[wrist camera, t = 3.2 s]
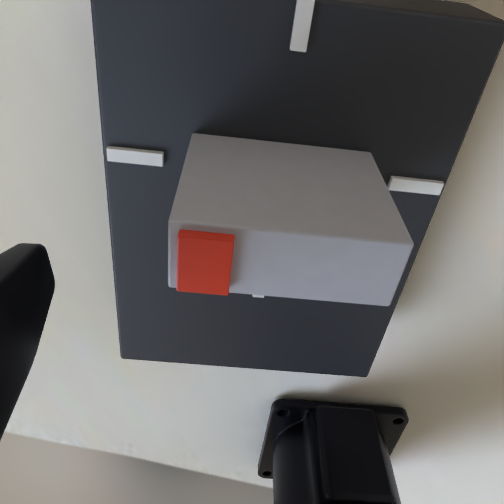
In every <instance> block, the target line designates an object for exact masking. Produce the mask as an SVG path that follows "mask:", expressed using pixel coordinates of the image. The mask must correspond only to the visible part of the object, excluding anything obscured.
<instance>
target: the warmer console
mask: <svg viewBox="0 0 504 504" xmlns="http://www.w3.org/2000/svg"><path fill="white" fill-rule="evenodd" d="M91 11H92V23H93V35H94V47H95V58H96V70H97V82H98V94H99V106H100V117H101V129H102V141H103V153H104V165H105V176H106V188H107V200H108V212H109V224H110V235H111V247H112V259H113V271H114V283H115V294H116V306H117V318H118V330H119V342H120V353H121V358H123V359H135V360H149V361H162V362H175V363H188V364H201V365H214V366H227V367H240V368H253V369H266V370H279V371H292V372H305V373H319V374H332V375H345V376H358V377H367V375H368V373H369V371H370V368H371V366H372V363H373V361H374V358H375V356H376V353H377V351H378V348H379V346H380V344H381V341H382V339H383V336H384V334H385V331H386V329H387V326H388V324H389V321H390V319H391V317H392V314H393V312H394V309H395V307H396V304H397V302H398V299H399V297H400V294H401V292H402V290H403V287H404V285H405V282H406V280H407V277H408V275H409V272H410V270H411V267H412V265H413V262H414V260H415V258H416V255H417V253H418V250H419V248H420V245H421V243H422V240H423V238H424V235H425V233H426V231H427V228H428V226H429V223H430V221H431V218H432V216H433V213H434V211H435V208H436V206H437V204H438V201H439V199H440V196H441V194H442V191H443V189H444V186H445V184H446V181H447V179H448V177H449V174H450V172H451V169H452V167H453V164H454V162H455V159H456V157H457V154H458V152H459V150H460V147H461V145H462V142H463V140H464V137H465V135H466V132H467V130H468V127H469V125H470V123H471V120H472V118H473V115H474V113H475V110H476V108H477V105H478V103H479V100H480V98H481V96H482V93H483V91H484V88H485V86H486V83H487V81H488V78H489V76H490V73H491V71H492V68H493V66H494V64H495V61H496V59H497V56H498V54H499V51H500V49H501V46H502V44H503V41H504V21H503V20H501V19H499V18H497V17H495V16H492V15H490V14H488V13H486V12H484V11H482V10H479V9H477V8H475V7H473V6H471V5H468V4H464V3H456V2H449V1H441V0H91ZM193 133H198V134H207V135H216V136H225V137H235V138H244V139H253V140H262V141H272V142H281V143H290V144H299V145H309V146H318V147H327V148H336V149H346V150H355V151H364V152H370V153H371V154H372V156H373V158H374V160H375V163H376V165H377V167H378V169H379V171H380V173H381V175H382V177H383V180H384V182H385V184H386V186H387V188H388V190H389V192H390V194H391V196H392V199H393V201H394V203H395V205H396V207H397V209H398V211H399V213H400V215H401V218H402V220H403V222H404V224H405V226H406V228H407V230H408V232H409V234H410V237H411V239H412V241H413V243H414V246H413V248H412V251H411V254H410V256H409V259H408V261H407V264H406V266H405V269H404V271H403V274H402V276H401V279H400V281H399V284H398V286H397V289H396V291H395V294H394V296H393V299H392V301H391V304H390V305H389V306H379V305H368V304H356V303H345V302H333V301H322V300H310V299H299V298H287V297H276V296H264V295H252V294H241V293H229V294H228V295H215V294H204V293H192V292H181V291H177V290H176V288H172V287H169V285H168V221H169V217H170V213H171V210H172V206H173V202H174V199H175V195H176V191H177V188H178V184H179V180H180V177H181V173H182V169H183V166H184V162H185V158H186V155H187V151H188V147H189V144H190V140H191V136H192V134H193Z"/></svg>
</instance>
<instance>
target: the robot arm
mask: <svg viewBox="0 0 504 504" xmlns="http://www.w3.org/2000/svg"><path fill="white" fill-rule="evenodd" d="M54 288H55V280H54V275H53V272H52V268H51V264H50V261H49V257H48V253H47V250H46V248H45V247H44V246H43V245H41V244H28V243H21V244H18V245H16V246H14V247H12V248H10V249H9V250H7V251H5V252H3V253H1V254H0V440H1V438H2V435H3V433H4V430H5V428H6V426H7V423H8V421H9V419H10V416H11V414H12V412H13V409H14V407H15V405H16V402H17V400H18V398H19V395H20V393H21V390H22V388H23V386H24V383H25V381H26V379H27V376H28V374H29V371H30V369H31V366H32V364H33V361H34V358H35V355H36V352H37V349H38V345H39V342H40V338H41V335H42V331H43V328H44V324H45V321H46V317H47V314H48V310H49V307H50V304H51V300H52V297H53V293H54ZM408 420H409V419H408V415H407V412H406V410H405V409H403V408H399V407H385V406H372V405H358V404H344V403H330V402H317V401H303V400H289V399H279V400H276V401H275V402H273V404H272V407H271V411H270V416H269V420H268V424H267V429H266V433H265V437H264V442H263V446H262V450H261V455H260V459H259V464H258V475H259V476H260V477H262V478H269V479H273V494H274V504H401V501H400V497H399V493H398V489H397V485H396V481H395V477H394V473H393V469H392V465H391V461H390V455H391V453H392V451H393V449H394V447H395V445H396V444H397V442H398V440H399V438H400V436H401V434H402V432H403V431H404V429H405V427H406V425H407V423H408Z"/></svg>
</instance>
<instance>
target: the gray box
mask: <svg viewBox="0 0 504 504" xmlns="http://www.w3.org/2000/svg"><path fill="white" fill-rule="evenodd" d="M413 246H414V243H413V241H412V239H411V237H410V234H409V232H408V230H407V228H406V226H405V224H404V222H403V220H402V218H401V215H400V213H399V211H398V209H397V207H396V205H395V203H394V201H393V199H392V196H391V194H390V192H389V190H388V188H387V186H386V184H385V182H384V180H383V177H382V175H381V173H380V171H379V169H378V167H377V165H376V163H375V160H374V158H373V156H372V154H371V153H370V152H364V151H355V150H346V149H336V148H327V147H318V146H309V145H299V144H290V143H281V142H272V141H262V140H253V139H244V138H235V137H225V136H216V135H207V134H198V133H193V134H192V136H191V140H190V144H189V147H188V151H187V155H186V158H185V162H184V166H183V169H182V173H181V177H180V180H179V184H178V188H177V191H176V195H175V199H174V202H173V206H172V210H171V213H170V217H169V221H168V285H169V287H172V288H176V290H177V291H181V292H192V293H204V294H215V295H228V294H229V293H241V294H252V295H264V296H276V297H287V298H299V299H310V300H322V301H333V302H345V303H356V304H368V305H379V306H389V305H390V304H391V301H392V299H393V296H394V294H395V291H396V289H397V286H398V284H399V281H400V279H401V276H402V274H403V271H404V269H405V266H406V264H407V261H408V259H409V256H410V254H411V251H412V248H413Z"/></svg>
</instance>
